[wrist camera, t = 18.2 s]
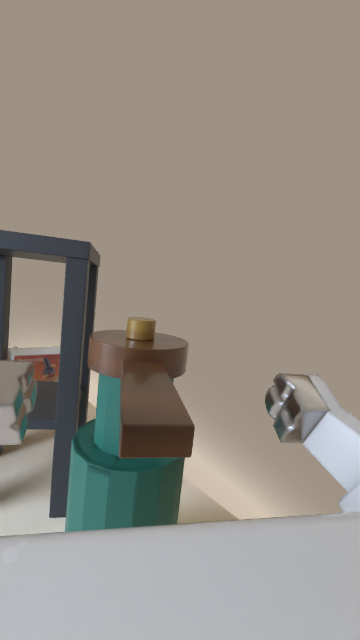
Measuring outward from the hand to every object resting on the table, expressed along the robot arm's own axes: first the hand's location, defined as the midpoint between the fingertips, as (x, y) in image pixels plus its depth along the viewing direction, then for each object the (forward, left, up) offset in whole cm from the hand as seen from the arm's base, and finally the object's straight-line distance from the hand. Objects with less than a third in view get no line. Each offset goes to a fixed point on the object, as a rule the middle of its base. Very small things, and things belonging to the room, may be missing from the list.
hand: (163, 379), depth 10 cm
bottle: (-5, +9, -20) cm, 22 cm away
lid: (-4, +6, -3) cm, 8 cm away
